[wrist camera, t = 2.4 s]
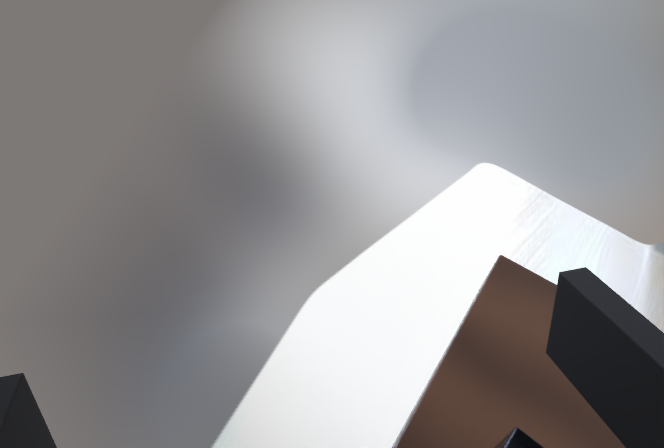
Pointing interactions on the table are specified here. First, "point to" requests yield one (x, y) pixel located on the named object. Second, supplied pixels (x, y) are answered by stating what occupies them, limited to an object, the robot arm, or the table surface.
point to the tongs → (518, 440)
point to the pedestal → (504, 376)
